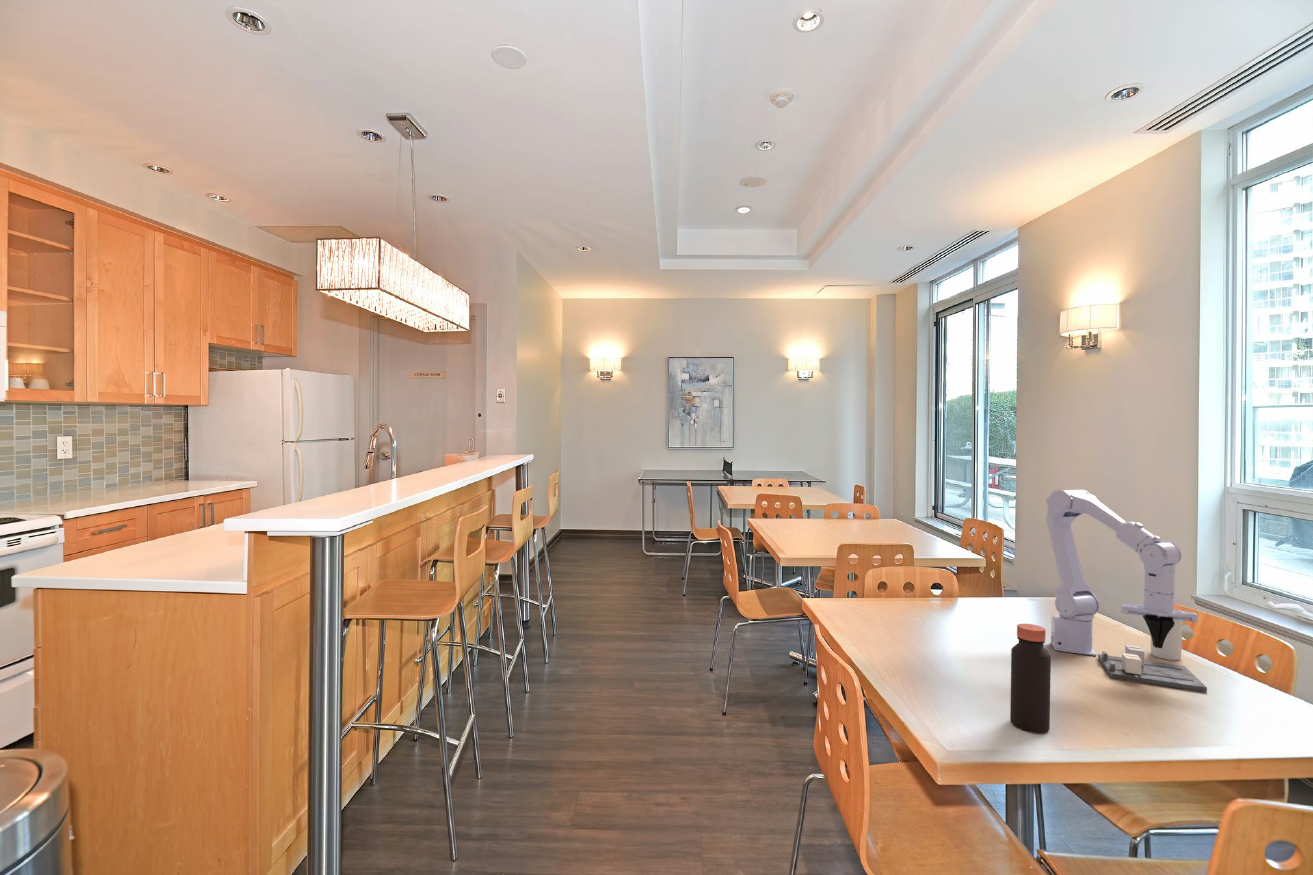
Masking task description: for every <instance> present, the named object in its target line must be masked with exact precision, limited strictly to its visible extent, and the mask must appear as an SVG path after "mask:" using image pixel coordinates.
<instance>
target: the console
mask: <svg viewBox="0 0 1313 875" xmlns="http://www.w3.org/2000/svg"><path fill="white" fill-rule="evenodd" d="M1097 659H1098V661H1099V662H1100V664H1101V665H1102V667H1103V669H1104V670H1105V671H1106V672H1107V674H1108V675H1109V677H1110V679H1113V680H1119V681H1126V682H1127V681H1128V682H1134V683H1140V684H1147V685H1152V686H1161V687H1166V688H1172V689H1179V690H1180V689H1181V690H1186V691H1187V690H1188V691H1194V692H1200V693H1206V694H1207V693H1208V687H1207V686H1206V685H1205V684H1204V683H1203V682H1202V681H1201V680H1200V679H1199V678H1198V677H1197V676H1196V675H1194V673H1192V671H1190V669H1188V667H1187V666H1185V665H1179V664H1173V663H1164V662H1160V661H1151V660H1145V659H1144V665H1142V667H1141V675H1140V674H1133V673H1126V672H1125V670H1124V669H1123V668H1122V656H1117V655H1116V656H1115V655H1109V654H1108V652H1107V651H1104V650H1102V651H1101V653H1098V654H1097Z"/></svg>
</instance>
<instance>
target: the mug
mask: <svg viewBox="0 0 1313 875" xmlns="http://www.w3.org/2000/svg"><path fill="white" fill-rule="evenodd" d="M1173 621H1174V622H1175V624H1174V626H1173V627H1172V629H1171V630H1170V631H1169V633H1168V634H1167V636H1166V638H1165V641H1164V643H1163V647H1162V648H1156V647H1154V646H1153V642H1152V637H1151V636H1150V654H1151V655H1152V656H1154V657H1155V658H1158V657H1159V659H1162V658H1164V659H1163V660H1167V659H1168V660H1169V661H1179V660H1181V659H1182V644H1183V642H1182V641H1183V627H1184V626H1183V624H1184V623H1183V622H1184V620H1176V619H1173Z"/></svg>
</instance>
